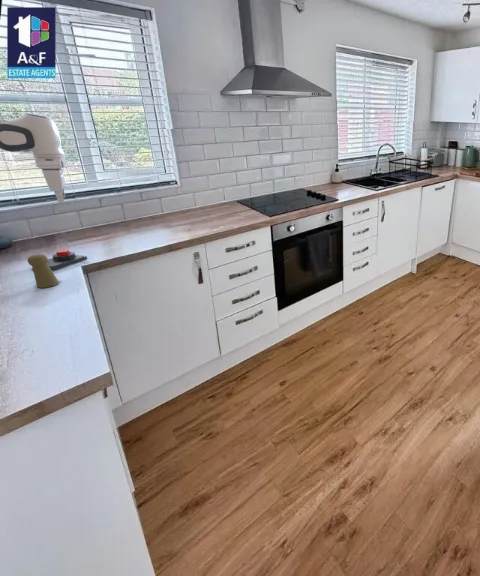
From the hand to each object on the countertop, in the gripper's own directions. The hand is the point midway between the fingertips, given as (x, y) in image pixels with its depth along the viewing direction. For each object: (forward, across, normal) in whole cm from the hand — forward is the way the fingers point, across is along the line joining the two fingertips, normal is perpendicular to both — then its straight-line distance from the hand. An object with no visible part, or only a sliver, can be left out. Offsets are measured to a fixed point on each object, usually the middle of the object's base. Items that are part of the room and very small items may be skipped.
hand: (61, 200), depth 142 cm
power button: (+22, -3, -4) cm, 23 cm away
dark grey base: (+27, -1, -6) cm, 27 cm away
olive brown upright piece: (+27, +19, -9) cm, 34 cm away
